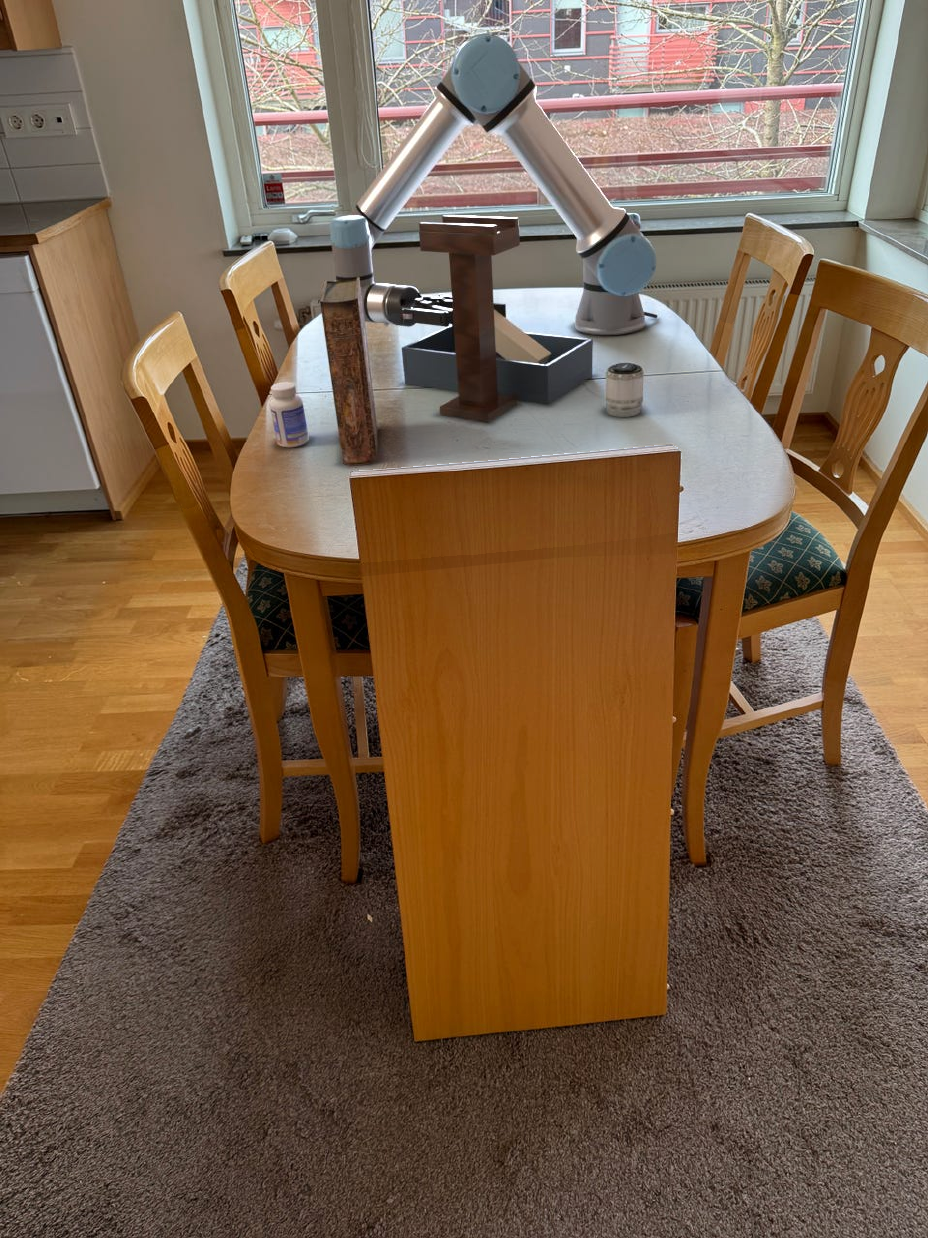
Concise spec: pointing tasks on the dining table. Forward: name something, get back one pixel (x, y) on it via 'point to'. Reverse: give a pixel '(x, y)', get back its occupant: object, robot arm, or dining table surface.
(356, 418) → the book
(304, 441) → the pill bottle
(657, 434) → the dining table surface
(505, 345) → the carton
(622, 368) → the camera lens
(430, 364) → the bin
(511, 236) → the stand
